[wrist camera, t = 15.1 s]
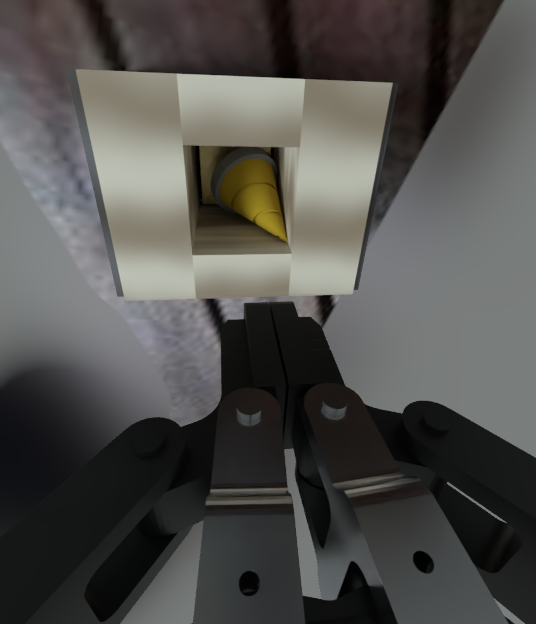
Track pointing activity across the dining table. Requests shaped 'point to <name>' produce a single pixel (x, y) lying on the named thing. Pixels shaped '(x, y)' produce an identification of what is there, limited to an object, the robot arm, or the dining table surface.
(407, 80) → the dining table surface
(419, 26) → the dining table surface
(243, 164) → the drill bit
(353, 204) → the socket block
